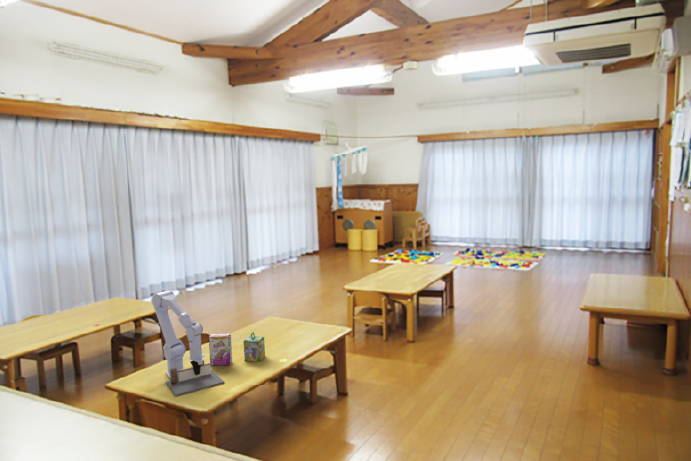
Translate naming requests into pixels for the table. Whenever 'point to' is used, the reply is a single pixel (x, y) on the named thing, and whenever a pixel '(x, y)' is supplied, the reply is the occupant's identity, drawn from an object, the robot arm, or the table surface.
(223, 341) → the candy bar box
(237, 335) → the table surface
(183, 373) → the gate
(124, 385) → the table surface
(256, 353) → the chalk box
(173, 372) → the gate posts
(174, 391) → the mat
